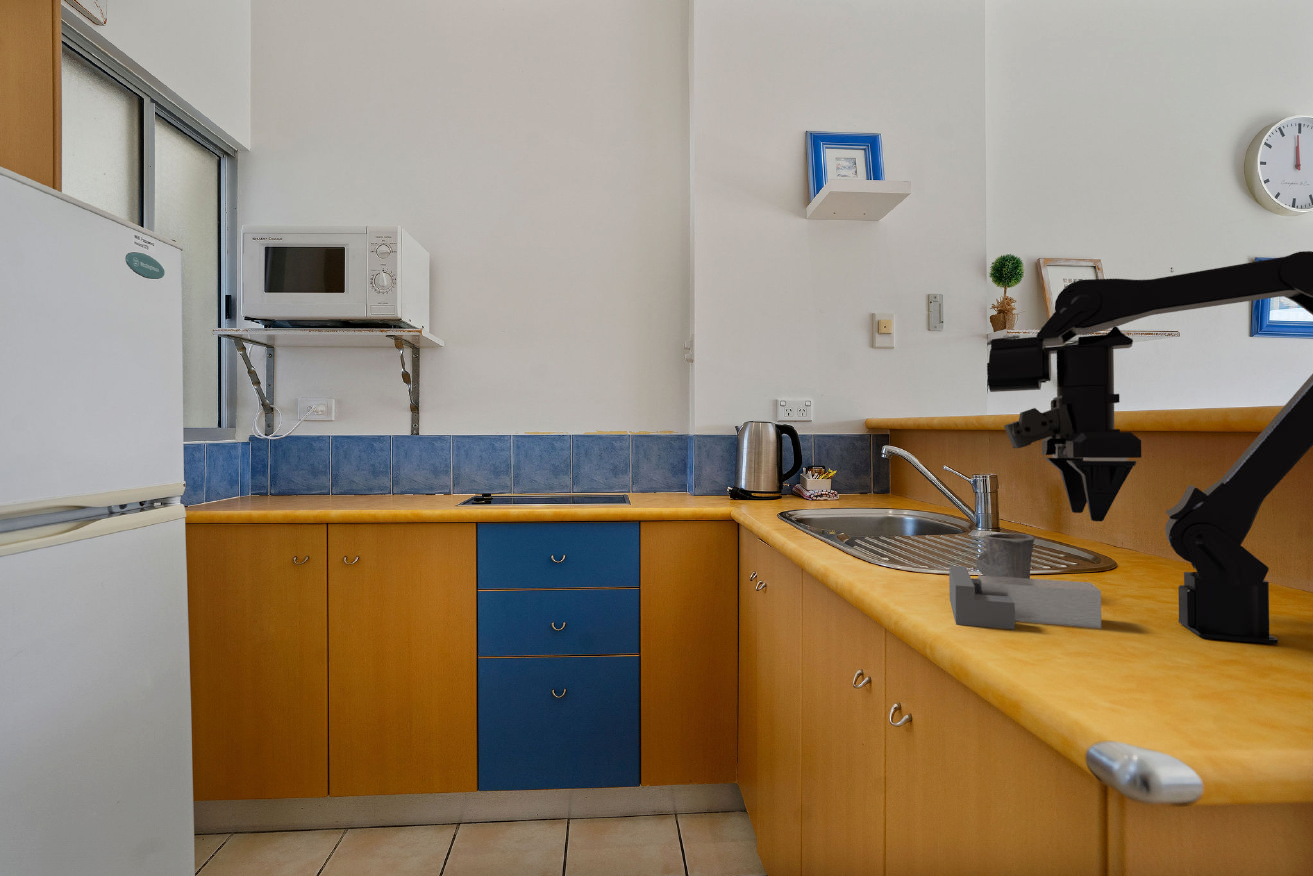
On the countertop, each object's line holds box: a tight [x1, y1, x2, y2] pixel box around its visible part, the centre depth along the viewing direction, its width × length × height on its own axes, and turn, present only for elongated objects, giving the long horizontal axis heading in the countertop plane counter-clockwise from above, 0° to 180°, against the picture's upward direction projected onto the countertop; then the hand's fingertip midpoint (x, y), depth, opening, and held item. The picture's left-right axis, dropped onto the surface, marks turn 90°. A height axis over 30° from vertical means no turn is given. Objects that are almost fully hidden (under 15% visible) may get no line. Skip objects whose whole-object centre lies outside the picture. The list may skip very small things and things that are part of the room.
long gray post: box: [977, 574, 1102, 630], centre depth 75 cm, size 12×4×4 cm, turn 68°
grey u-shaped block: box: [948, 565, 1016, 630], centre depth 78 cm, size 6×12×4 cm, turn 158°
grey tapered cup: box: [976, 532, 1035, 579], centre depth 91 cm, size 6×13×8 cm, turn 173°
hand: (1086, 516), depth 76 cm, fingers open, 9 cm apart
